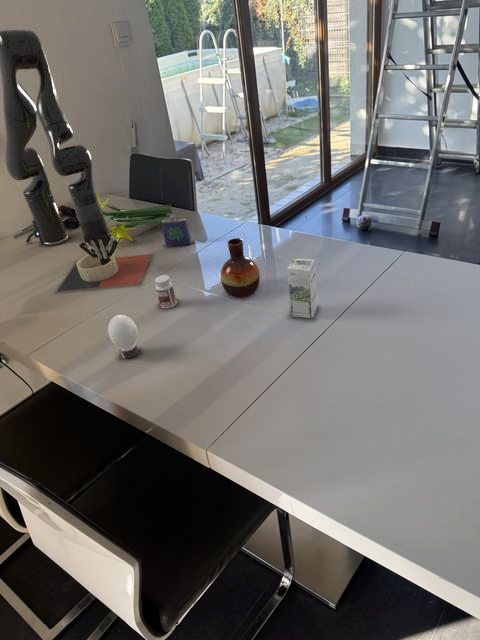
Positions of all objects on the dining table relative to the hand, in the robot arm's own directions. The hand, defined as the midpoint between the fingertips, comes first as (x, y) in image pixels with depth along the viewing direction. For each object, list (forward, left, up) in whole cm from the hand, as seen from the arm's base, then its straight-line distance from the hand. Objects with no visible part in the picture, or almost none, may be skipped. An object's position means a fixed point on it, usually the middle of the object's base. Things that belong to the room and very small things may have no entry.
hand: (107, 267), depth 154 cm
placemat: (-1, 0, -2) cm, 2 cm away
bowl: (-3, 0, -2) cm, 4 cm away
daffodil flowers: (+2, +30, -2) cm, 31 cm away
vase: (+44, -19, -2) cm, 48 cm away
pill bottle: (+23, -23, -2) cm, 33 cm away
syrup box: (+61, -33, -2) cm, 70 cm away
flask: (+20, +17, -2) cm, 27 cm away
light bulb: (+17, -45, -2) cm, 48 cm away
